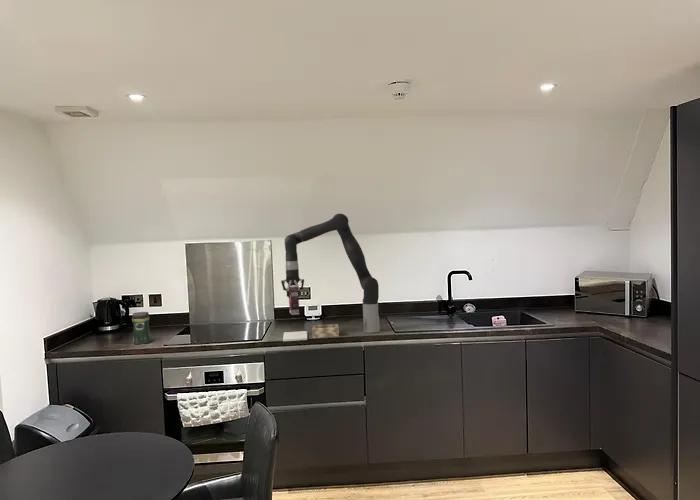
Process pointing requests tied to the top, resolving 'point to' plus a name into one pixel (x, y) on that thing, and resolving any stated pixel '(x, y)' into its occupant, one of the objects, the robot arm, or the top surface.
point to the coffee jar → (141, 327)
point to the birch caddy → (325, 330)
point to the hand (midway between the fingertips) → (293, 296)
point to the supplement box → (293, 300)
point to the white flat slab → (295, 336)
